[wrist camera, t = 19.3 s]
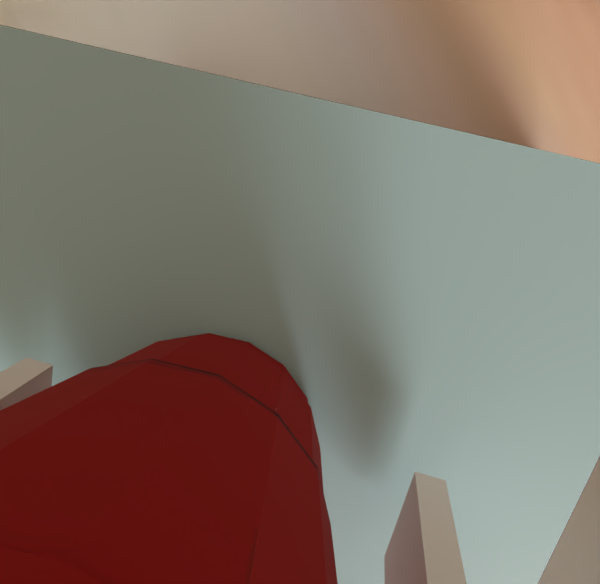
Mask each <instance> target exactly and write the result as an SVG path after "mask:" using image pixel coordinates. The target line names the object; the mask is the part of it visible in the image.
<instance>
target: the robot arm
mask: <svg viewBox="0 0 600 584" xmlns="http://www.w3.org/2000/svg"><path fill="white" fill-rule="evenodd" d="M52 373H53V365H51V364H48V363H44V362H41V361H37V360H34V359H31V358H27V357H26V358H24V359H23V360H21V361H19V362H17V363H16V364H14V365H12V366H11V367H9V368H7V369H5V370H4V371H2V372H0V410H2V409H5V408H7V407H9V406H11V405H13V404H15V403H17V402H19V401H22V400H24V399H26V398H28V397H30V396H32V395H34V394H36V393H39V392H41V391H43V390H45V389H47V388H49V387H51V386H52ZM384 574H385V584H467V583H466V578H465V573H464V568H463V563H462V558H461V553H460V548H459V543H458V538H457V534H456V529H455V524H454V519H453V514H452V509H451V504H450V499H449V494H448V489H447V484H446V480H443V479H439V478H436V477H432V476H429V475H426V474H422V473H419V472H415V473H414V476H413V478H412V481H411V484H410V487H409V489H408V492H407V495H406V498H405V501H404V503H403V506H402V509H401V512H400V514H399V517H398V520H397V523H396V525H395V528H394V531H393V534H392V537H391V539H390V542H389V545H388V548H387V550H386V553H385V556H384Z"/></svg>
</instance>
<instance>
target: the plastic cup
mask: <svg viewBox="0 0 600 584" xmlns="http://www.w3.org/2000/svg"><path fill="white" fill-rule="evenodd" d="M0 584H338V583H337V574H336V566H335V557H334V548H333V539H332V531H331V523H330V519H329V515H328V510H327V506H326V502H325V497H324V492H323V478H322V465H321V451H320V445H319V440H318V436H317V432H316V427H315V423H314V418H313V414H312V410H311V407H310V405H309V404H308V399H307V397H306V395H305V394H304V393H303V391H302V390H301V388H300V387H299V386H298V384H297V383H296V381H295V380H294V379H293V377H292V376H291V374H290V373H289V372H288V370H287V369H286V367H285V366H284V365H283V364H281V363H280V362H278V361H277V360H275V359H274V358H272V357H271V356H269V355H268V354H266V353H265V352H263V351H262V350H260V349H259V348H257V347H256V346H254V345H253V344H251V343H250V342H246V341H242V340H237V339H233V338H229V337H224V336H220V335H216V334H211V333H207V334H200V335H194V336H187V337H181V338H175V339H169V340H163V341H157V342H155V343H153V344H151V345H149V346H147V347H145V348H143V349H141V350H139V351H136V352H134V353H132V354H130V355H128V356H126V357H124V358H122V359H120V360H118V361H116V362H114V363H111V364H109V365H107V366H100V367H94V368H90V369H88V370H85V371H83V372H81V373H79V374H77V375H75V376H73V377H71V378H68V379H66V380H64V381H62V382H60V383H58V384H56V385H54V386H51V387H49V388H47V389H45V390H43V391H41V392H39V393H36V394H34V395H32V396H30V397H28V398H26V399H24V400H22V401H19V402H17V403H15V404H13V405H11V406H9V407H7V408H5V409H2V410H0Z"/></svg>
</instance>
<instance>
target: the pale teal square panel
mask: <svg viewBox="0 0 600 584" xmlns="http://www.w3.org/2000/svg"><path fill="white" fill-rule="evenodd" d="M207 333H211V334H216V335H220V336H224V337H229V338H233V339H237V340H242V341H246V342H250V343H251V344H253V345H254V346H256V347H257V348H259V349H260V350H262V351H263V352H265V353H266V354H268V355H269V356H271V357H272V358H274V359H275V360H277V361H278V362H280V363H281V364H283V365H284V366H285V367H286V369H287V370H288V372H289V373H290V374H291V376H292V377H293V379H294V380H295V381H296V383H297V384H298V386H299V387H300V388H301V390H302V391H303V393H304V394H305V395H306V397H307V399H308V404H309V405H310V407H311V410H312V414H313V418H314V423H315V427H316V432H317V436H318V440H319V445H320V451H321V465H322V478H323V492H324V497H325V502H326V506H327V510H328V515H329V519H330V523H331V531H332V539H333V548H334V557H335V566H336V574H337V583H338V584H385V574H384V556H385V553H386V550H387V548H388V545H389V542H390V539H391V537H392V534H393V531H394V528H395V525H396V523H397V520H398V517H399V514H400V512H401V509H402V506H403V503H404V501H405V498H406V495H407V492H408V489H409V487H410V484H411V481H412V478H413V476H414V473H415V472H419V473H422V474H426V475H429V476H432V477H436V478H439V479H443V480H446V484H447V489H448V494H449V499H450V504H451V509H452V514H453V519H454V524H455V529H456V534H457V538H458V543H459V548H460V553H461V558H462V563H463V568H464V573H465V578H466V583H467V584H538V582H539V580H540V578H541V576H542V574H543V572H544V570H545V568H546V566H547V563H548V561H549V559H550V557H551V555H552V553H553V551H554V549H555V547H556V545H557V543H558V541H559V539H560V537H561V535H562V533H563V531H564V528H565V526H566V524H567V522H568V520H569V518H570V516H571V514H572V512H573V510H574V508H575V506H576V504H577V502H578V500H579V498H580V496H581V493H582V491H583V489H584V487H585V485H586V483H587V481H588V479H589V477H590V475H591V473H592V471H593V469H594V467H595V465H596V463H597V461H598V459H599V456H600V163H595V162H591V161H587V160H582V159H578V158H574V157H570V156H565V155H561V154H557V153H552V152H548V151H544V150H539V149H535V148H531V147H526V146H522V145H518V144H513V143H509V142H505V141H500V140H496V139H492V138H487V137H483V136H479V135H474V134H470V133H466V132H461V131H457V130H453V129H449V128H444V127H440V126H436V125H431V124H427V123H423V122H418V121H414V120H410V119H405V118H401V117H397V116H392V115H388V114H384V113H379V112H375V111H371V110H366V109H362V108H358V107H353V106H349V105H345V104H340V103H336V102H332V101H328V100H323V99H319V98H315V97H310V96H306V95H302V94H297V93H293V92H289V91H284V90H280V89H276V88H271V87H267V86H263V85H258V84H254V83H250V82H245V81H241V80H237V79H232V78H228V77H224V76H220V75H215V74H211V73H207V72H202V71H198V70H194V69H189V68H185V67H181V66H176V65H172V64H168V63H163V62H159V61H155V60H150V59H146V58H142V57H137V56H133V55H129V54H124V53H120V52H116V51H111V50H107V49H103V48H99V47H94V46H90V45H86V44H81V43H77V42H73V41H68V40H64V39H60V38H55V37H51V36H47V35H42V34H38V33H34V32H29V31H25V30H21V29H16V28H12V27H8V26H3V25H0V372H2V371H4V370H5V369H7V368H9V367H11V366H12V365H14V364H16V363H17V362H19V361H21V360H23V359H24V358H26V357H27V358H31V359H34V360H37V361H41V362H44V363H48V364H51V365H53V373H52V386H54V385H56V384H58V383H60V382H62V381H64V380H66V379H68V378H71V377H73V376H75V375H77V374H79V373H81V372H83V371H85V370H88V369H90V368H94V367H100V366H107V365H109V364H111V363H114V362H116V361H118V360H120V359H122V358H124V357H126V356H128V355H130V354H132V353H134V352H136V351H139V350H141V349H143V348H145V347H147V346H149V345H151V344H153V343H155V342H157V341H163V340H169V339H175V338H181V337H187V336H194V335H200V334H207Z"/></svg>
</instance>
